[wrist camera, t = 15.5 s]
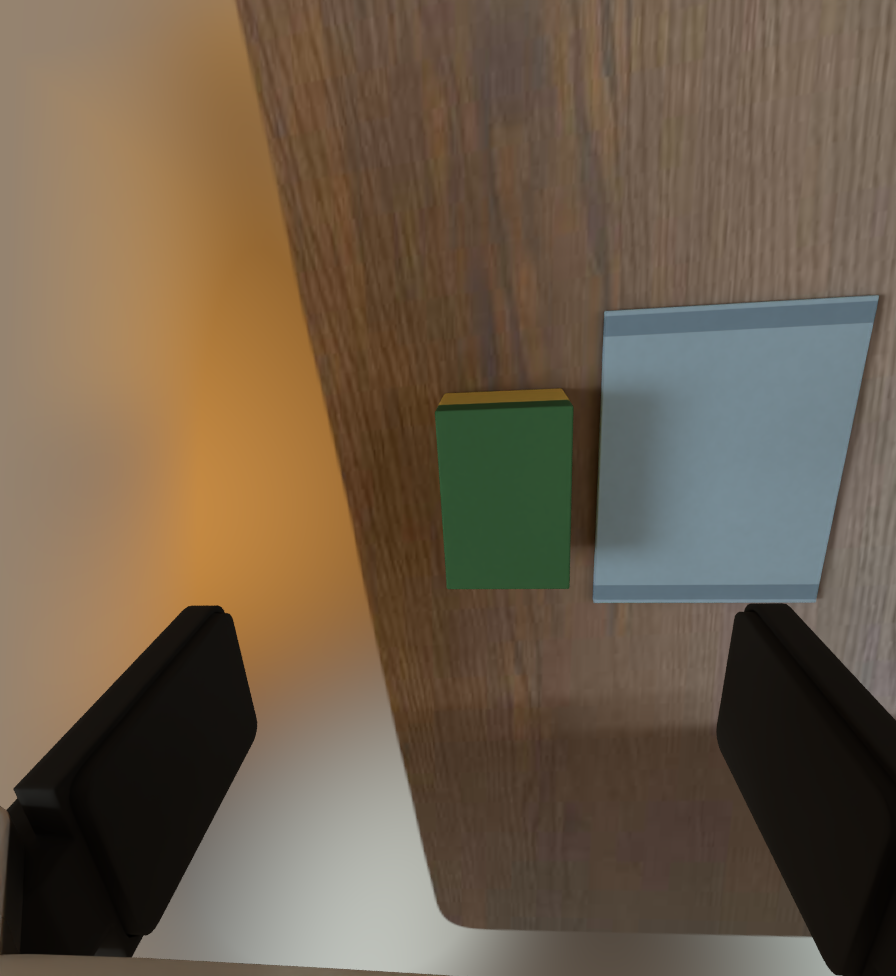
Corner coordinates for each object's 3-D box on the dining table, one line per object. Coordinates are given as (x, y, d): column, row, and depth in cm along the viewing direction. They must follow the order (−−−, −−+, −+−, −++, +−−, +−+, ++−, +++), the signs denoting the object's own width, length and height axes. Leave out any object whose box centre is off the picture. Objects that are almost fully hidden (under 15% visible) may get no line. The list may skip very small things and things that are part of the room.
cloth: (592, 599, 31) (593, 603, 30) (604, 310, 25) (605, 311, 25) (811, 598, 29) (815, 603, 29) (873, 295, 24) (879, 295, 24)
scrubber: (559, 547, 30) (569, 589, 25) (454, 548, 30) (446, 589, 26) (562, 388, 27) (573, 405, 22) (444, 393, 27) (434, 411, 23)
